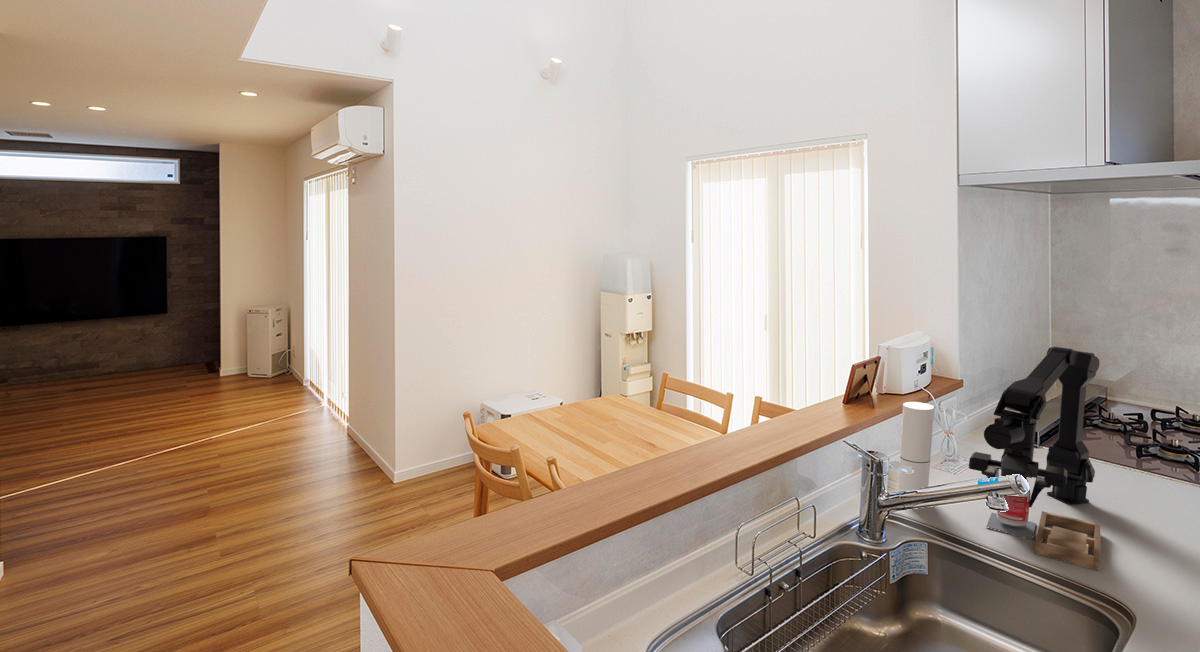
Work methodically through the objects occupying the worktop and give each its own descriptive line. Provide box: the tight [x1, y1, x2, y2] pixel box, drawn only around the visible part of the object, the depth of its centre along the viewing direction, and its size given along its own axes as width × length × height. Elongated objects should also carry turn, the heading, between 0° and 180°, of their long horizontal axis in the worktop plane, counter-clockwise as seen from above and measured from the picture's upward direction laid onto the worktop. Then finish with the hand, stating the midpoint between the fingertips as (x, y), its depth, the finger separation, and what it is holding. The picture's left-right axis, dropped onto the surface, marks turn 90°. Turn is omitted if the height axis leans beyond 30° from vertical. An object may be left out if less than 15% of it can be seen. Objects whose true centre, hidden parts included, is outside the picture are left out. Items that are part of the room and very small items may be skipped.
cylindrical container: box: [897, 401, 935, 492], centre depth 160 cm, size 7×7×25 cm
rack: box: [1033, 510, 1102, 572], centre depth 137 cm, size 11×19×2 cm, turn 141°
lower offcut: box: [1046, 535, 1089, 555], centre depth 133 cm, size 7×5×2 cm
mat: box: [985, 512, 1037, 540], centre depth 145 cm, size 9×9×1 cm
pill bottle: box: [996, 478, 1031, 527], centre depth 144 cm, size 6×6×11 cm
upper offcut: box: [1049, 525, 1088, 552], centre depth 133 cm, size 6×4×2 cm, turn 46°
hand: (1013, 503), depth 144 cm, fingers closed on pill bottle, 6 cm apart
